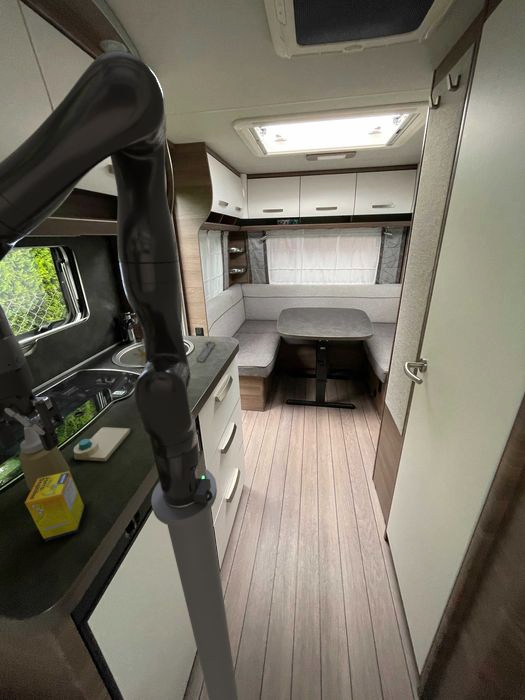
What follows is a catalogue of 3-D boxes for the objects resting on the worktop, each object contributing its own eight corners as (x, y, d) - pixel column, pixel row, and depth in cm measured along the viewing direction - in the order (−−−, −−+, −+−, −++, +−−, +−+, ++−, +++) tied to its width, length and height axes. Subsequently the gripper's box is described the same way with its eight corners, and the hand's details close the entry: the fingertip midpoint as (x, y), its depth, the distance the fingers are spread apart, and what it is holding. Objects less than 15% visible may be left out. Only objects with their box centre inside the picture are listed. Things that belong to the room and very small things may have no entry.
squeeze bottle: (78, 487, 66) (53, 426, 59) (36, 510, 61) (4, 446, 54) (69, 469, 71) (46, 411, 64) (30, 488, 66) (0, 427, 59)
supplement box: (54, 515, 60) (36, 477, 55) (85, 507, 61) (70, 470, 57) (43, 542, 54) (23, 503, 50) (78, 532, 56) (61, 493, 52)
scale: (102, 430, 86) (100, 422, 85) (130, 431, 85) (128, 423, 84) (71, 461, 74) (68, 452, 73) (104, 463, 73) (101, 454, 72)
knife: (192, 361, 130) (203, 361, 129) (192, 361, 130) (203, 361, 129) (207, 342, 153) (216, 342, 152) (207, 341, 153) (216, 341, 152)
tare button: (84, 443, 77) (83, 438, 76) (93, 443, 76) (91, 438, 76) (78, 450, 74) (76, 445, 74) (86, 450, 74) (85, 445, 73)
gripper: (-73, 374, 41) (-26, 459, 47) (13, 378, 39) (49, 464, 46) (-20, 354, 48) (15, 430, 54) (55, 356, 46) (82, 434, 53)
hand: (30, 446), depth 50 cm, fingers open, 8 cm apart
